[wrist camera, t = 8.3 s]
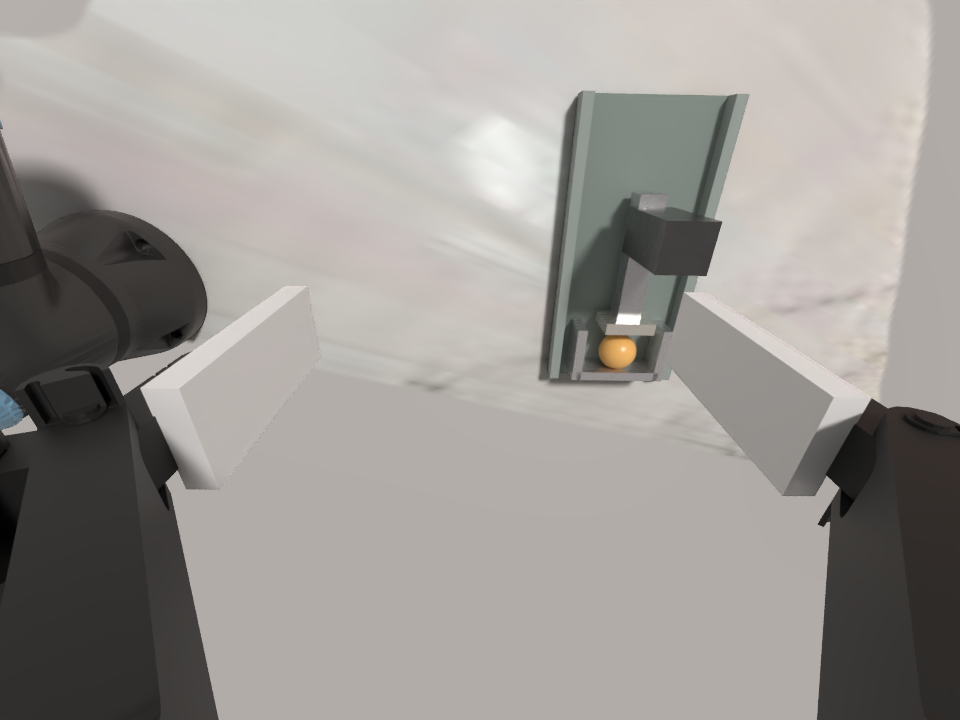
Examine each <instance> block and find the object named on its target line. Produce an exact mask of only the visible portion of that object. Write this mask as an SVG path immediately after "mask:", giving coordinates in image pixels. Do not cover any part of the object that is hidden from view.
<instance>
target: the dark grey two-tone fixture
mask: <svg viewBox="0 0 960 720" xmlns="http://www.w3.org/2000/svg"><path fill="white" fill-rule="evenodd" d="M667 197H668V195H665V194H661V193H655V192H632V194H631V200H630V205H629V211H628V216H627V222H626V227H625V233H624V238H623V243H622V249H621V254H620V260H619V265H618V271H617V276H616V282H615V287H614V293H613V298H612V304H611V309H610V310H597V312H596V318H595V320H596V322H597V323H598V325H599V326H600V328H601V329H602V331H603V332H604V334H605V335H646V336H654V334H655V330H656V326H657V325H656V324H655V323H654V322H653V321H652V320H651V319H650V318H649V317H648V316H647V315H646V314H645V313H644V312H643V311H642V309H643V305H644V300H645V296H646V291H647V287H648V282H649V278H650V273H652V274H654V275H676V276H707V272H708V269H709V265H710V262H711V259H712V255H713V252H714V248H715V245H716V241H717V238H718V235H719V231H720V228H721V224H722V221H718V220H715V219H712V218H708V217H705V216H702V215H698V214H695V213H692V212H688V211H685V210H682V209H678V208H675V207H665V206H666V202H667Z"/></svg>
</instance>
